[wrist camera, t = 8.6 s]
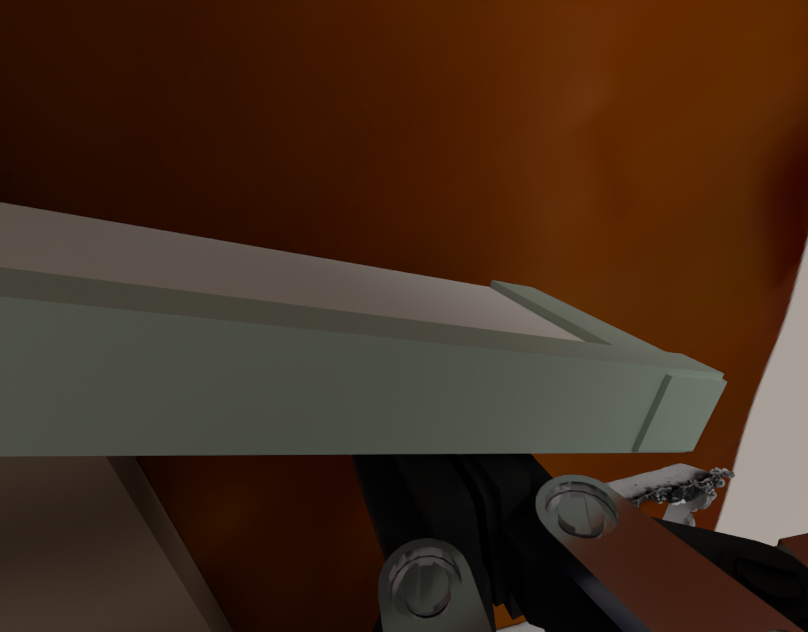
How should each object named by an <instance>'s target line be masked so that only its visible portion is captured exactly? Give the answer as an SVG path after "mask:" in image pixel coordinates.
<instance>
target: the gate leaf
mask: <svg viewBox="0 0 808 632" xmlns="http://www.w3.org/2000/svg"><path fill="white" fill-rule="evenodd" d="M723 375H724V374H723V373H721V372H719V371H717V370H715V369H713V368H711V367H709V366H706V365H704V364H702V363H700V362H698V361H696V360H694V359H692V358H689V357H687V356H685V355H683V354H677V353H669V352H665V351H663V350H661V349H659V348H657V347H654V346H652V345H650V344H648V343H646V342H644V341H642V340H640V339H638V338H636V337H634V336H632V335H630V334H628V333H626V332H624V331H621V330H619V329H617V328H615V327H613V326H611V325H609V324H607V323H605V322H603V321H601V320H599V319H597V318H595V317H593V316H591V315H588V314H586V313H584V312H582V311H580V310H578V309H576V308H574V307H572V306H570V305H568V304H566V303H564V302H562V301H560V300H558V299H555V298H553V297H551V296H549V295H547V294H545V293H543V292H541V291H539V290H537V289H535V288H533V287H527V286H521V285H516V284H510V283H505V282H499V281H494V280H492V281H491V285H490V287H486V286H480V285H475V284H469V283H463V282H457V281H452V280H446V279H440V278H434V277H429V276H423V275H417V274H411V273H405V272H400V271H394V270H388V269H382V268H377V267H371V266H365V265H359V264H354V263H348V262H342V261H336V260H331V259H325V258H319V257H313V256H307V255H302V254H296V253H290V252H284V251H279V250H273V249H267V248H261V247H256V246H250V245H244V244H238V243H232V242H227V241H221V240H215V239H209V238H204V237H198V236H192V235H186V234H181V233H175V232H169V231H163V230H158V229H152V228H146V227H140V226H134V225H129V224H123V223H117V222H111V221H106V220H100V219H94V218H88V217H83V216H77V215H71V214H65V213H60V212H54V211H48V210H42V209H36V208H31V207H25V206H19V205H13V204H8V203H2V202H0V456H165V455H337V454H508V453H679V452H686V451H693V449H694V447H695V445H696V443H697V441H698V439H699V437H700V435H701V433H702V431H703V429H704V427H705V425H706V424H707V422H708V420H709V418H710V416H711V414H712V412H713V410H714V408H715V406H716V404H717V402H718V400H719V398H720V396H721V394H722V392H723V390H724V388H725V386H726V384H727V381H725V380H723V379H722V377H723Z"/></svg>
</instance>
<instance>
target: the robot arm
mask: <svg viewBox="0 0 808 632" xmlns="http://www.w3.org/2000/svg"><path fill="white" fill-rule="evenodd" d="M351 456H352V459H353V463H354V466H355V470H356V473H357V477H358V480H359V483H360V487H361V490H362V493H363V496H364V499H365V502H366V506H367V509H368V512H369V515H370V517H371V520H372V523H373V526H374V529H375V532H376V535H377V538H378V541H379V544H380V547H381V550H382V553H383V555H384V558H385V561H386V562H385V564H384V565H383V567H382V570H381V573H380V576H379V579H378V599H379V606H380V615H379V617H378V619H377V621H376V623H375V626H374V628H373V630H372V632H496V627H495V619H494V611H493V604H494V605H495V606H496V607H497V606H498V605H500V604H502V603H503V604H504V605H505V607H506V609H507V611H508V613H509V614H510V616H511V618H512V620H514V619H515V618H517V617H519V616H521V615H524V616H525V618H526V620H527V621H528V623H529V624H530V625H533V626H536V627H539V628H541V629H544V631H545V632H808V533H806V534H802V535H796V536H792V537H787V538H782V539H779V541H778V544H777V546H774V547H773V546H770V545H767V544H764V543H761V542H758V541H755V540H750V539H746V538H741V537H737V536H733V535H728V534H724V533H720V532H715V531H711V530H706V529H702V528H698V527H693V526H689V525H684V524H680V523H676V522H671V521H667V520H662V519H658V518H654V517H650V516H648V515H647V514H646V513H644V512H643V511H642V510H640V509H639V508H638V507H636V506H635V505H634V504H632V503H631V502H630V501H628V500H627V499H626V498H624V497H623V496H622V495H620V494H619V493H618V492H616V491H615V490H613V489H612V488H611V487H609V486H607V485H606V484H604V483H602V482H601V481H599V480H596V479H593V478H590V477H587V476H581V475H565V476H558V477H556V478H554V479H553V478H552V477H551V476H550V474H549V473H548V472H547V471H546V470H545V469H544V468H543V467H542V466H541V465H540V464H539V463H538V461H537V460H536V459H535V458H534V457H533V456H532V455H531V454H530V453H508V454H351Z"/></svg>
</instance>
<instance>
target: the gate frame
mask: <svg viewBox="0 0 808 632" xmlns="http://www.w3.org/2000/svg"><path fill="white" fill-rule="evenodd" d="M0 632H234V631H233V629H232V628H231V626H230V624H229V622H228V621H227V619H226V617H225V615H224V613H223V612H222V610H221V608H220V606H219V605H218V603H217V601H216V599H215V598H214V596H213V594H212V592H211V591H210V589H209V587H208V585H207V584H206V582H205V580H204V578H203V576H202V575H201V573H200V571H199V569H198V568H197V566H196V564H195V562H194V561H193V559H192V557H191V555H190V554H189V552H188V550H187V548H186V547H185V545H184V543H183V541H182V539H181V538H180V536H179V534H178V532H177V531H176V529H175V527H174V525H173V524H172V522H171V520H170V518H169V517H168V515H167V513H166V511H165V510H164V508H163V506H162V504H161V502H160V501H159V499H158V497H157V495H156V494H155V492H154V490H153V488H152V487H151V485H150V483H149V481H148V480H147V478H146V476H145V474H144V473H143V471H142V469H141V467H140V465H139V464H138V462H137V460H136V458H135V457H134V456H0Z"/></svg>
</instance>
